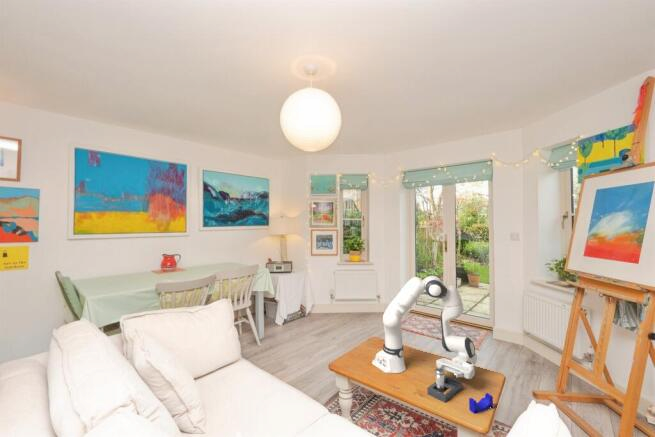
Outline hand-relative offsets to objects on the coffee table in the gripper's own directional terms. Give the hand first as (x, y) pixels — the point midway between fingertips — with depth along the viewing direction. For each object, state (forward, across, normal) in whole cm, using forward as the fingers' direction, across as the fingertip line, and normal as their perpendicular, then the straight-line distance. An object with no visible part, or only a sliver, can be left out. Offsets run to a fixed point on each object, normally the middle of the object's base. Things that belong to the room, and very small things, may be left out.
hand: (447, 372), depth 162 cm
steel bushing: (+8, 0, +9) cm, 12 cm away
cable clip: (+4, +19, +10) cm, 21 cm away
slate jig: (+3, 0, +9) cm, 10 cm away
